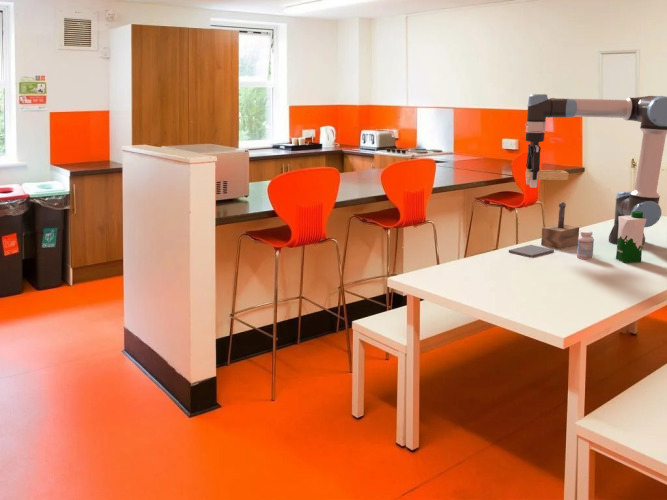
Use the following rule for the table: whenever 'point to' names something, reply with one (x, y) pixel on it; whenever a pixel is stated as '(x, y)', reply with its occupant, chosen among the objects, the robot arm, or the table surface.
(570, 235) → the walnut stand
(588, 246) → the pill bottle
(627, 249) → the milk carton
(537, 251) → the rubber mat
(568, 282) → the table surface
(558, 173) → the golden brown rectangular frame
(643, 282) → the table surface
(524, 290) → the table surface
